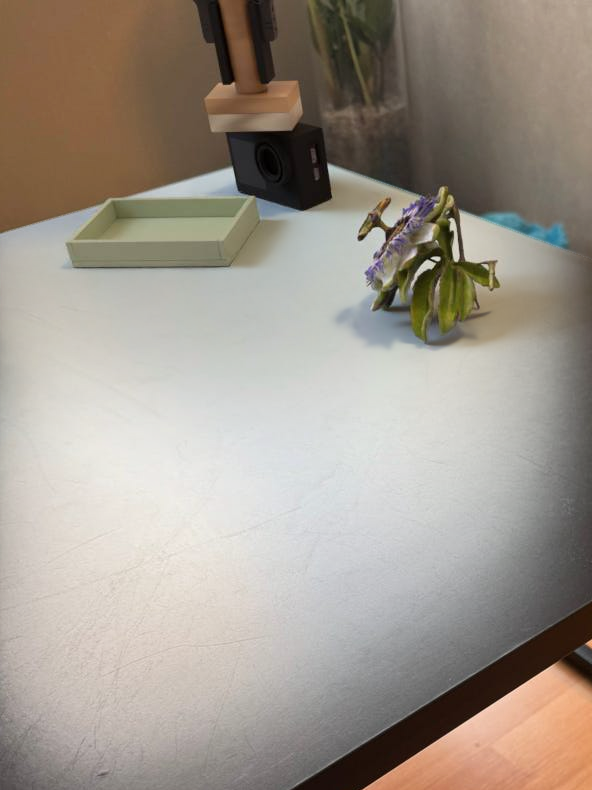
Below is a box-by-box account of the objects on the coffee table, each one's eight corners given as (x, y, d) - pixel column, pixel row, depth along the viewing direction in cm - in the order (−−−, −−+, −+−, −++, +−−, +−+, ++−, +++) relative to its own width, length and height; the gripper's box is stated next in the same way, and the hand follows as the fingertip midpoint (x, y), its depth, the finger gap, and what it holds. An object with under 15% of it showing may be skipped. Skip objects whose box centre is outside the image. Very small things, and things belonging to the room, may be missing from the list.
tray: (72, 267, 95) (64, 242, 93) (115, 221, 103) (108, 197, 101) (229, 266, 93) (223, 240, 92) (260, 220, 101) (255, 195, 100)
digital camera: (227, 195, 107) (212, 124, 102) (266, 179, 110) (253, 110, 105) (293, 215, 102) (281, 141, 97) (332, 198, 105) (321, 126, 100)
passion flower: (395, 367, 89) (361, 229, 87) (515, 336, 87) (483, 195, 86) (372, 351, 78) (332, 192, 76) (510, 315, 76) (472, 152, 75)
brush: (211, 132, 98) (179, -12, 89) (225, 115, 101) (195, -25, 93) (292, 130, 97) (267, -16, 88) (303, 113, 100) (280, -29, 92)
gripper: (299, -255, 82) (339, 67, 98) (110, -244, 84) (180, 71, 100) (276, -251, 77) (323, 90, 93) (75, -239, 78) (155, 93, 94)
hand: (249, 80), depth 96 cm, fingers closed on brush, 3 cm apart
